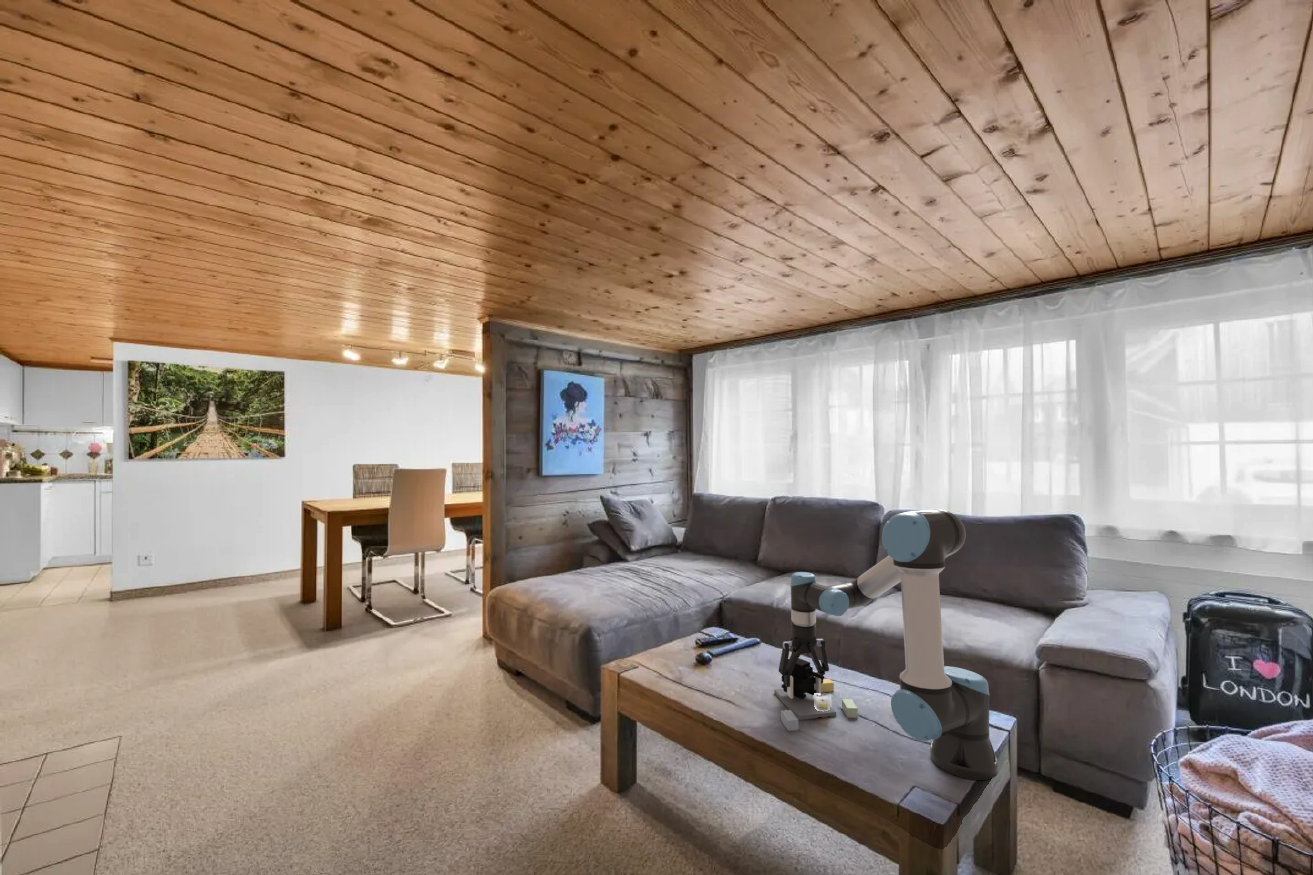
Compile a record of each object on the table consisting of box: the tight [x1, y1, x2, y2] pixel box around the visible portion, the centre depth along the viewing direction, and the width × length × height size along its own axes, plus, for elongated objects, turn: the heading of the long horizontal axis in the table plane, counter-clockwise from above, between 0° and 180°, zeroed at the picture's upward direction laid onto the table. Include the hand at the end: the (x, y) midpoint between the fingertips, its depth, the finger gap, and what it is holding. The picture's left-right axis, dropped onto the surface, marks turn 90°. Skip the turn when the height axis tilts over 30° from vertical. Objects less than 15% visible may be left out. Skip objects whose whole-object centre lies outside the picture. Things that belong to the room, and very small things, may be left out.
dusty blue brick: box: [780, 709, 799, 732], centre depth 161 cm, size 6×3×3 cm, turn 7°
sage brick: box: [841, 698, 859, 719], centre depth 168 cm, size 6×3×3 cm, turn 176°
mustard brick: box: [814, 678, 835, 693], centre depth 183 cm, size 6×3×3 cm, turn 102°
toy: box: [780, 657, 825, 699], centre depth 174 cm, size 8×14×10 cm, turn 36°
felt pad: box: [773, 688, 837, 721], centre depth 173 cm, size 18×12×1 cm, turn 11°
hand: (804, 695), depth 173 cm, fingers closed on toy, 9 cm apart
